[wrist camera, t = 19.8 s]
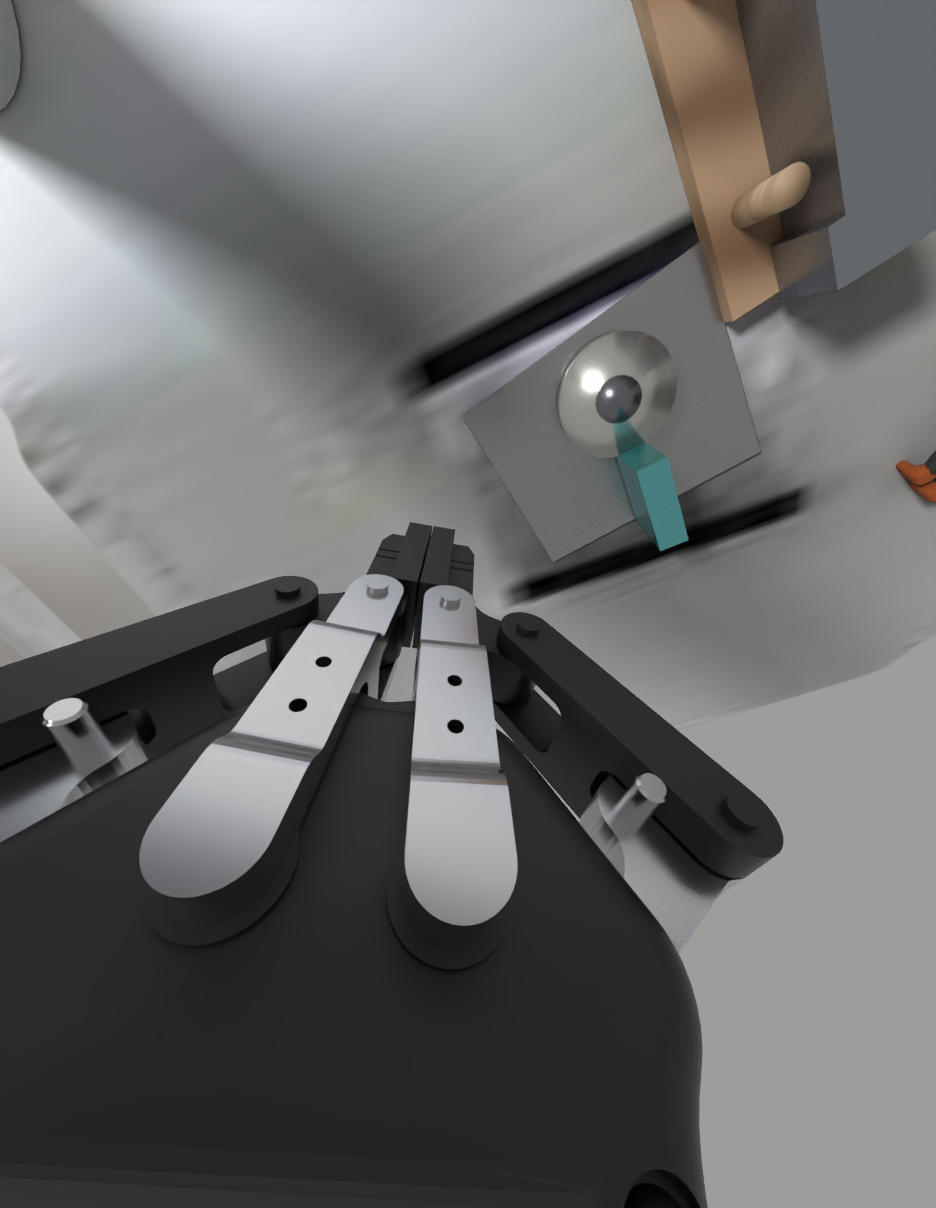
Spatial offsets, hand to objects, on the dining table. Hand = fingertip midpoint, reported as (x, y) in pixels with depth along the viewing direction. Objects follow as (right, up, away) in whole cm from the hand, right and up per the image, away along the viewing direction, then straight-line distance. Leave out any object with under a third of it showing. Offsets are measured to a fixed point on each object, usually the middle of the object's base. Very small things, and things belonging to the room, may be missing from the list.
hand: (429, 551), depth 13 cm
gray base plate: (+13, +12, +18) cm, 25 cm away
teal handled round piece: (+13, +11, +17) cm, 25 cm away
